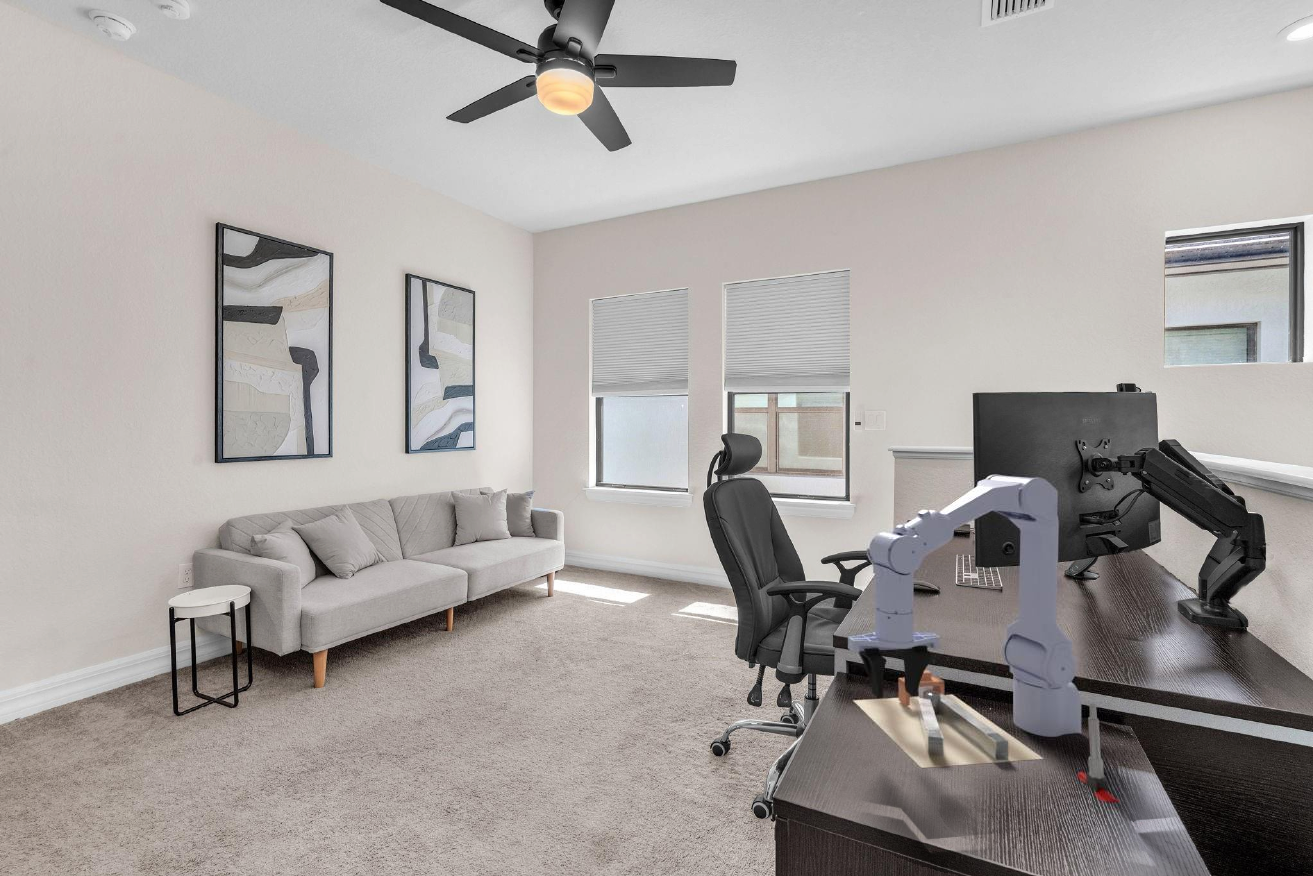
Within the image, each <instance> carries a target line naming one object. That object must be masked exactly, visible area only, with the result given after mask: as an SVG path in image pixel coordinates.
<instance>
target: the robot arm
mask: <svg viewBox="0 0 1313 876" xmlns="http://www.w3.org/2000/svg"><path fill="white" fill-rule="evenodd" d="M1058 495H1059V491H1058V489H1056V487H1054V486H1053V485H1052V484H1051V483H1050V482H1049V481H1047V480H1046V478H1043V477H1026V476H1024V477H1022V476H1010V475H1009V476H1008V475H1001V474H998V473H997V474H991V475H988V476H987V477H986V478H985V479H982V480H979V481H977V484H976V487H975V488H973V489H971V490H970V491H968V492H967V493H966V494H965V495H962V496H961V497H960V498H958V499H956V501H954V502H953V503H951V504H949V505H948V506H946V507H945V508H944V509H942V510H941V511H939V510H938V511H937V510H935V509H928V510H926V509H921V510H919V511H918V512H917V516H916V517H914V518H913V519H911V520H909V521H908V522H906V523H904V524H898V525H896V526H895V529H893V531H892V532H888V531H883V532H882V531H881V532H879V533H877V534H876V535H875V536H874V537H873V538H872V540H871V541H870V543H869V547H868V548H866V555H867V557H868V560H869V561H870V563H871V564H872V570H873V571H872V572H873V574H874V631H873V632H869V633H865V634H859V635H853V636H852V635H851V636H847V649H848V650H849V651H851V653H853V654H856V653H858V655H859V656H860V658H861V661H862V663H863V665H864V668H865V670H866V672H867V677H868V680H869V684H870V689H871V693H872V694H873V696H875V697H876V699H883V698H884V674H885V668H886V664H887V662H888V661H887V659H886V658H885V657H884V656H882V652H880V651H886V650H887V651H888V650H890V651H891V650H901V653H902V658H903V666H904V667H903V668H904V678H905V691H906V692H908V693H909V694H910V697H917V693H918V691H919V683H920V680H921V678H922V675H923V673H924V671H925V670H927V668H928V666H929V664H930V663H931V662H932V661H933V653H932V652H930V650H928V649H930V648H932V649H934V650H940V649H941V637H940V636H939V635H938V634H936V633H935V632H916V631H915V632H914V630H915V629H914V624H915V622H914V621H915V620H914V572H916V571H917V570H919V568H920V567H921V564H922V562H923V560H924V559H925V558H926V557H927V555H929V554H931V553H932V552H934V551H936V550H938V549H939V548H941V547H942V546H944V545H945V544H947V543H949V542H950V541H952V540H953V538H954V532H955V530H957V529H958V528H960V527H962V526H964V525H966V524H969V523H970V522H971V521H974V520H976V519H978V518H980V517H983V515H986V514H988V513H990V512H995V513H998V514H1000V515H1002V516H1004V517H1006V518H1007V519H1008V520H1010V522H1012V524H1014V525H1015V526H1016V527H1017V528H1019V530H1020V535H1019V537H1020V543H1019V544H1020V545H1019V549H1020V550H1019V583H1018V584H1019V590H1018V619H1017V620H1015V621H1014V622H1012V623H1010V624H1009V625H1007V626H1006V636H1005V639H1004V641H1003V643H1002V646H1001V654H1002V655H1001V656H1002V659H1003V660H1004V662H1005V663H1006V664H1007V665H1008V666H1009V673H1011V674H1013V677H1012V678H1013V680H1012V681H1013V682H1012V683H1013V685H1012V686H1013V691H1012V693H1013V698H1012V699H1013V704H1012V706H1013V708H1012V709H1013V711H1012V713H1013V714H1012V715H1013V720H1012V722H1013V725H1015V726H1017V728H1019V729H1020V730H1022V731H1024V732H1027V733H1030V734H1033V735H1036V736H1040V737H1041V736H1042V737H1060V736H1062V735H1068V734H1080V735H1081V734H1082V699H1081V695H1080V692H1079V690H1078V688H1077V687H1076V685H1075V684H1074V683H1073V682H1072V681H1073V680H1074V678H1075V676H1076V673H1077V672H1076V671H1077V661H1076V658H1075V656H1074V654H1073V642H1072V640H1071V639H1070V638H1069V637H1068V636H1067V634H1066V633H1064V631H1063V630H1062V629H1061V628H1060V627H1059V626H1058V625H1057V623H1058V622H1057V619H1058V617H1057V615H1058V574H1059V573H1058V569H1059V565H1058V563H1059V531H1060V530H1059V525H1060V522H1059V517H1058V504H1059V503H1058V499H1059V498H1058Z"/></svg>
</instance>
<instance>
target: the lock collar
mask: <svg viewBox="0 0 1313 876" xmlns="http://www.w3.org/2000/svg"><path fill="white" fill-rule="evenodd" d="M929 686H932V687H934V688H935V689H937V690H938V691H939V692H941V693H942V694H944V695H945V680H944V679H942V678H940V677H939V676H937V675H933V676H932V672H931V671H930V670H927V669H925V671H924V673H923V675H922V678H921V680H920V683H919V687H929ZM919 687H918V688H919ZM910 697H911V695H910V694H909V693H908V692H906V691H905V677H898V698H899V701H900V702H902V703H903V704H904V705H905V706H910Z"/></svg>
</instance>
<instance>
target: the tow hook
mask: <svg viewBox="0 0 1313 876" xmlns="http://www.w3.org/2000/svg"><path fill="white" fill-rule="evenodd" d="M1088 704H1089V707H1088V709H1089V717H1087V719H1088V721H1087V722H1088V737H1089V738H1088V740H1089V756H1088V760H1087V761H1088V772H1086V773H1085V772H1084V771H1080V772H1078V773H1077V775H1076V776H1077V777H1078V778H1079V780H1080V781H1081V782H1083V783H1086V784H1087V786H1089V787H1090V788H1091V789H1092V790H1094V791H1095V792H1093V794H1094V795H1095V796H1096V797H1097V798H1098V799H1099V800H1100V802H1109V803H1120V802H1119V800H1118V799H1117V798H1115V797H1114V796H1113V795H1112V794H1111V793H1110V792H1109V789H1108V779H1106V778H1105V774H1104V760H1103V759H1102V757H1101V743H1100V742H1101V739H1100V737H1101V735H1100V722H1099V721H1100V720H1099V718H1098V717H1097V716H1098V715H1097V704H1096V703H1095V702H1089V703H1088Z"/></svg>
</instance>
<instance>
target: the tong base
mask: <svg viewBox="0 0 1313 876" xmlns="http://www.w3.org/2000/svg"><path fill="white" fill-rule="evenodd" d="M945 695H946V694H945V693H944V694H942V693H941V692H939V691H938V690H937V689H935V688H934V687H933V686H929V687H918V697H919V698H923V699H930V700H931V703H932V707H933V710H934V713H935V715H939V716H941V717H942V718H943V719H945V720H946V721H947V722H948V723H950V724H951V725H952V726H953V727H955V728H956V729H957V730H959V731H960V732H961V733H962V734H964V735H965V736H966V737H967V738H969V739H970V740H971V741H973V742H974V743H975V744H976V745H978V746H979V747H980V748H981V749H983V750H984V752H985V753H986V754H988V755H989V756H990V757H992V758H993V759H994V760H1007V759H1008V740H1006V739H1005V738H1003V737H1002V736H1001V735H999V734H998V733H996V732H995V731H994V730H992V729H991V728H989V727H988V726H987V725H985V724H984V723H983V722H981V721H980V720H978V719H977V718H976V717H974V716H973V715H971V714H970V713H969V712H967V711H966V710H964V709H963V708H962V707H960V706H959V705H957V704H956V703H955V702H953V701H952V700H951V699H949V698H948V697H946V696H945Z"/></svg>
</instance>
